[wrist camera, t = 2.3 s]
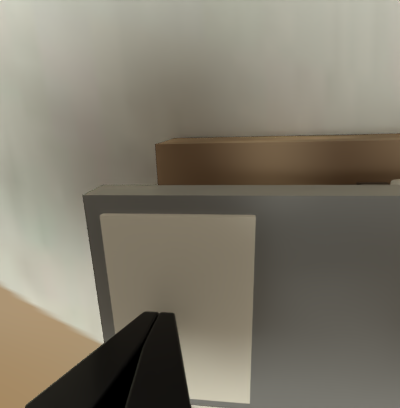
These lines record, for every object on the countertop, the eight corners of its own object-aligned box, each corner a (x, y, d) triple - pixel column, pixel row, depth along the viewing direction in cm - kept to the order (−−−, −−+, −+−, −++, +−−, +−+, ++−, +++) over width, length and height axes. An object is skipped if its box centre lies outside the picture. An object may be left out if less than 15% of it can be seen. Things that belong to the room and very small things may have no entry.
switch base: (519, 131, 13) (726, 138, 7) (471, 301, 15) (600, 397, 10) (175, 138, 15) (142, 148, 9) (182, 289, 17) (160, 366, 12)
